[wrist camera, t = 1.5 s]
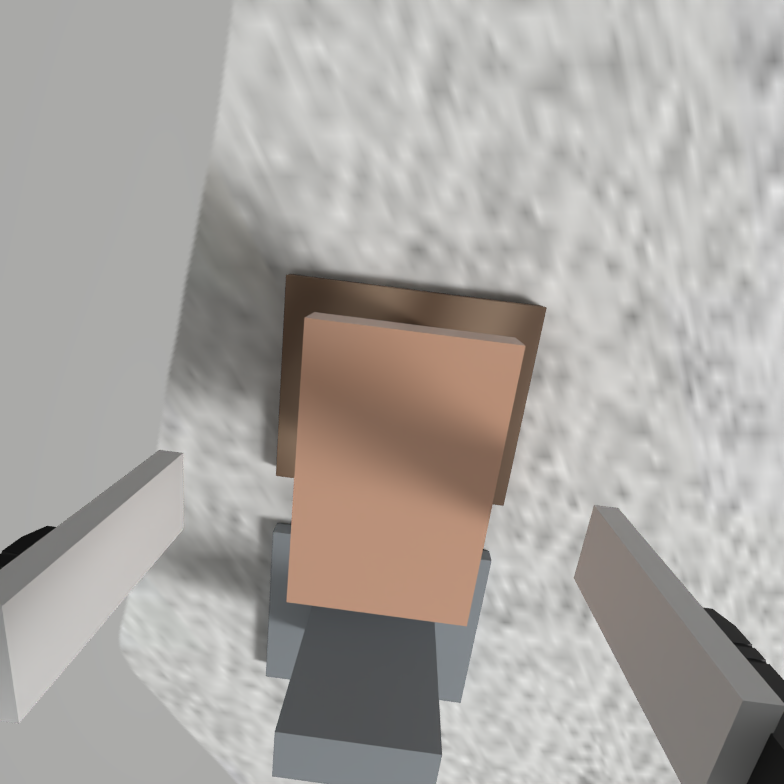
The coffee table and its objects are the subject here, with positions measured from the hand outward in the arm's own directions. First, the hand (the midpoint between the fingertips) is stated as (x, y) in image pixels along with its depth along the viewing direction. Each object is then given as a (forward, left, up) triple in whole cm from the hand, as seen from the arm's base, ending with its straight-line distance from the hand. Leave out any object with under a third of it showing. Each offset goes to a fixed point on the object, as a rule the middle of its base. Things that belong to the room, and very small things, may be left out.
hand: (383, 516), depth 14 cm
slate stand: (0, +16, -13) cm, 20 cm away
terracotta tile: (0, 0, -3) cm, 3 cm away
